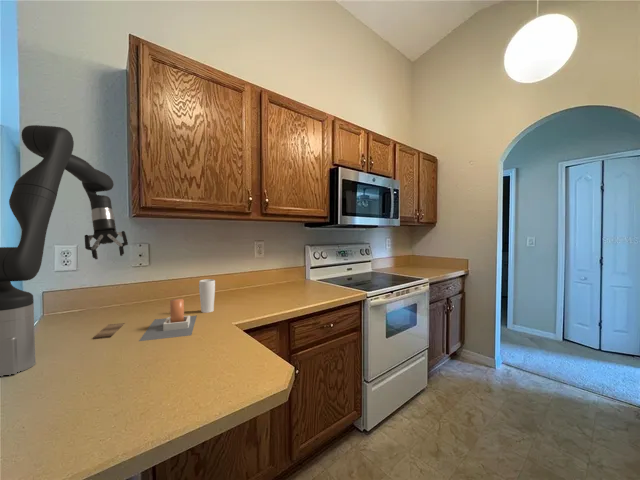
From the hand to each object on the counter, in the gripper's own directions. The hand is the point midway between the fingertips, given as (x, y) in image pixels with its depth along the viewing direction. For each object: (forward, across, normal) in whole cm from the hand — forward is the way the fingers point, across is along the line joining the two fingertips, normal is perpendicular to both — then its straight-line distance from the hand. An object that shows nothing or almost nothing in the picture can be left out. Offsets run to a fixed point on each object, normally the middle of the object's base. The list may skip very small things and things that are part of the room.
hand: (109, 257), depth 117 cm
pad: (+30, +2, -11) cm, 32 cm away
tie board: (+34, +18, -19) cm, 43 cm away
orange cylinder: (+33, +20, -20) cm, 44 cm away
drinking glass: (+33, +33, -4) cm, 47 cm away
